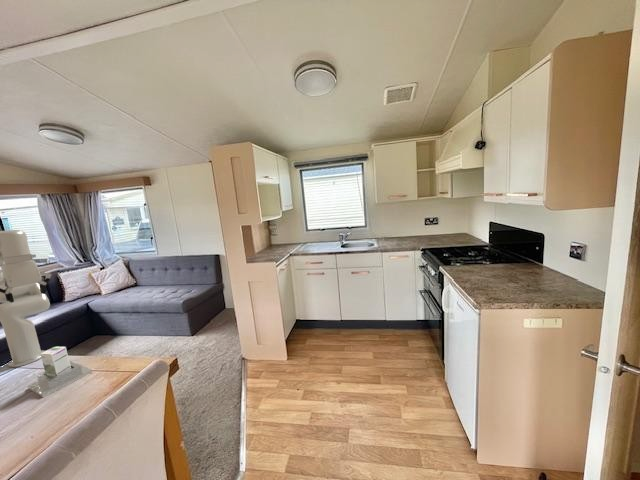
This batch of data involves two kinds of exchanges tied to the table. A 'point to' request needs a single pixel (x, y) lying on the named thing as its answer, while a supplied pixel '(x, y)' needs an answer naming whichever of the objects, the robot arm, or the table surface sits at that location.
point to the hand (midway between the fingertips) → (28, 297)
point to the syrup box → (55, 361)
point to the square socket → (58, 380)
